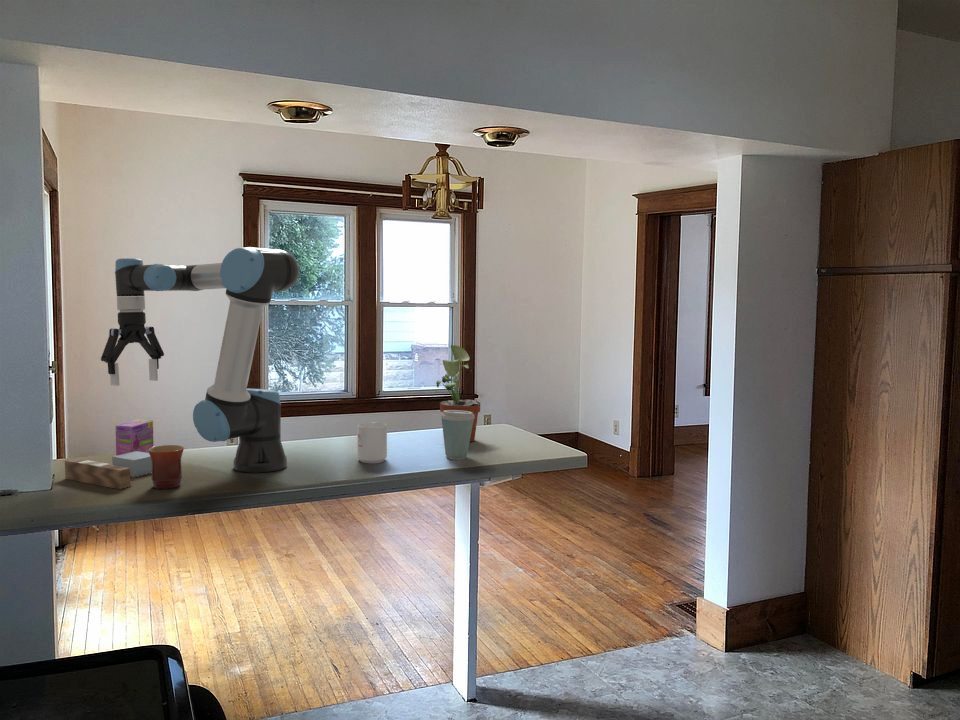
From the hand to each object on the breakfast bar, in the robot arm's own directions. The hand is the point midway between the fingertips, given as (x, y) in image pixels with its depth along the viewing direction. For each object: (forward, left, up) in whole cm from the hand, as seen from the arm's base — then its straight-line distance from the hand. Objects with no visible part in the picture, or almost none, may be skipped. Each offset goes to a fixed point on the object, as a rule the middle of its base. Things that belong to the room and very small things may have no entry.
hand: (134, 382), depth 231 cm
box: (0, 0, -24) cm, 24 cm away
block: (-11, +9, -24) cm, 28 cm away
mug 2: (-59, -37, -24) cm, 73 cm away
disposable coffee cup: (-81, -53, -24) cm, 99 cm away
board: (-12, +22, -24) cm, 35 cm away
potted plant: (-69, -76, -24) cm, 105 cm away
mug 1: (-30, +15, -24) cm, 41 cm away
